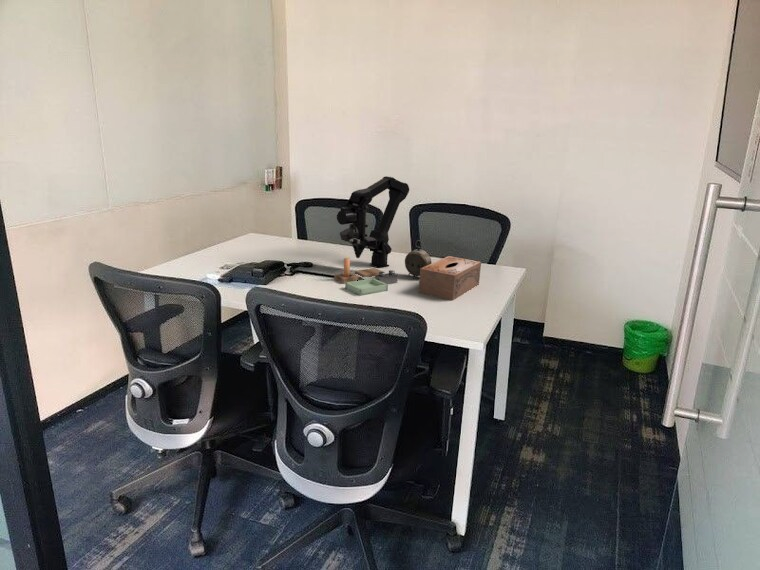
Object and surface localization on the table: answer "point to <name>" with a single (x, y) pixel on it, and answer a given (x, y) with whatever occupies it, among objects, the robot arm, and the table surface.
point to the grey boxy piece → (387, 277)
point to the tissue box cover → (449, 277)
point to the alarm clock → (416, 261)
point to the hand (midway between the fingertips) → (357, 258)
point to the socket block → (345, 278)
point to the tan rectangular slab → (368, 272)
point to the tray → (366, 286)
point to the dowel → (346, 267)
